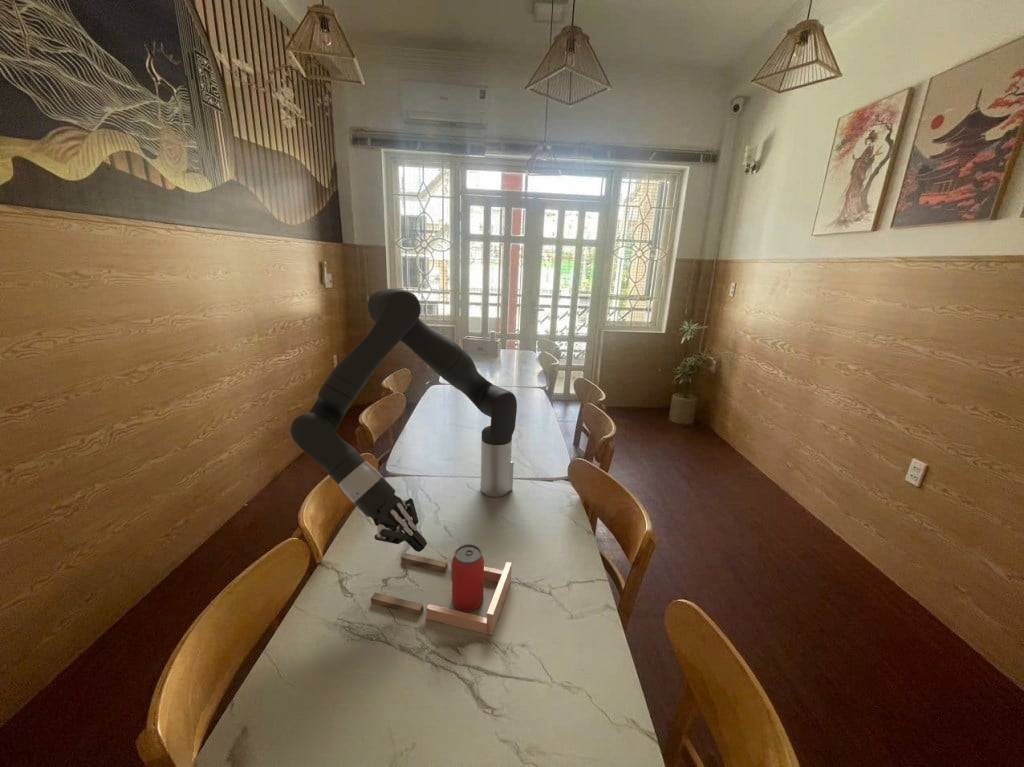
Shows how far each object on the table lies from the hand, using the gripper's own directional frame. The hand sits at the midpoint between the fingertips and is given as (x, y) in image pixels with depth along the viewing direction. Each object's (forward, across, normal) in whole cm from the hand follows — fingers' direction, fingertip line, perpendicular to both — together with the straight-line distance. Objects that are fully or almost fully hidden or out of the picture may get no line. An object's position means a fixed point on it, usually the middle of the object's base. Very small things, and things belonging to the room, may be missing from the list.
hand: (423, 547), depth 87 cm
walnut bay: (+5, 0, +9) cm, 11 cm away
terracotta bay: (+15, 0, 0) cm, 15 cm away
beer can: (+15, -1, 0) cm, 15 cm away
